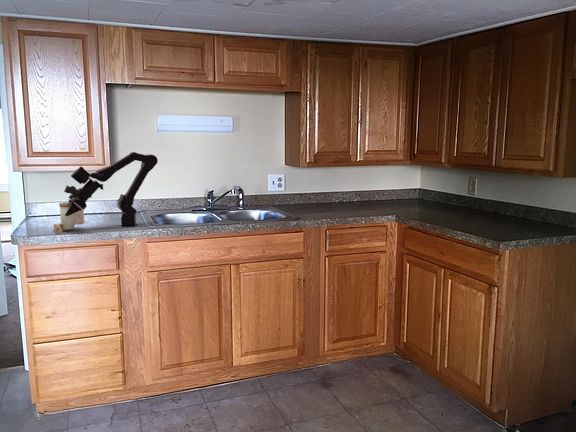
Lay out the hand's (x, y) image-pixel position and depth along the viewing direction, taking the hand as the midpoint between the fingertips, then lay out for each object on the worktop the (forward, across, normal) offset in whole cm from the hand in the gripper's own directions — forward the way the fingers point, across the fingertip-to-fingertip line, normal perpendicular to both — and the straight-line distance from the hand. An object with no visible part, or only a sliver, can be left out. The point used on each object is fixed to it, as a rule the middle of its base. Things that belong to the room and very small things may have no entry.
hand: (65, 215), depth 241 cm
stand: (+6, 0, +5) cm, 8 cm away
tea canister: (+4, 0, +5) cm, 7 cm away
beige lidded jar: (+1, -21, +10) cm, 23 cm away
